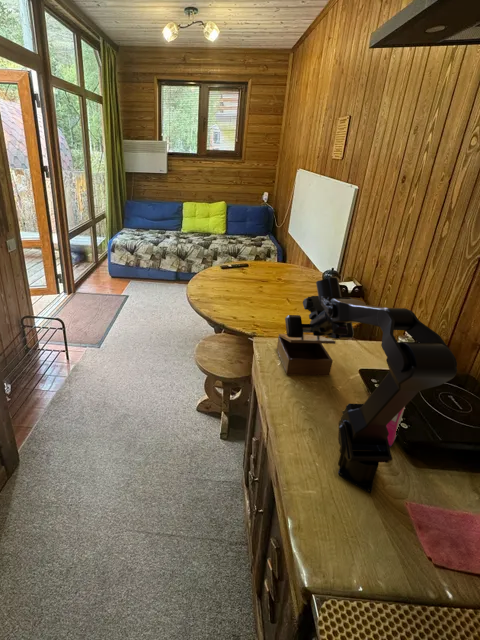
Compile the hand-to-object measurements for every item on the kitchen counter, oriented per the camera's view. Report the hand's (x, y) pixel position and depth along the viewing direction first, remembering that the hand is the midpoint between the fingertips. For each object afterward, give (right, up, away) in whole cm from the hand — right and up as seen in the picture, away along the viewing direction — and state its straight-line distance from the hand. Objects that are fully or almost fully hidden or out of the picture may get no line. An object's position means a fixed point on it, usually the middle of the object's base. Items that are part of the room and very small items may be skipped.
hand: (308, 332), depth 97 cm
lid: (0, -3, +3) cm, 4 cm away
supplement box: (+11, -21, -20) cm, 30 cm away
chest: (0, -11, +6) cm, 13 cm away
